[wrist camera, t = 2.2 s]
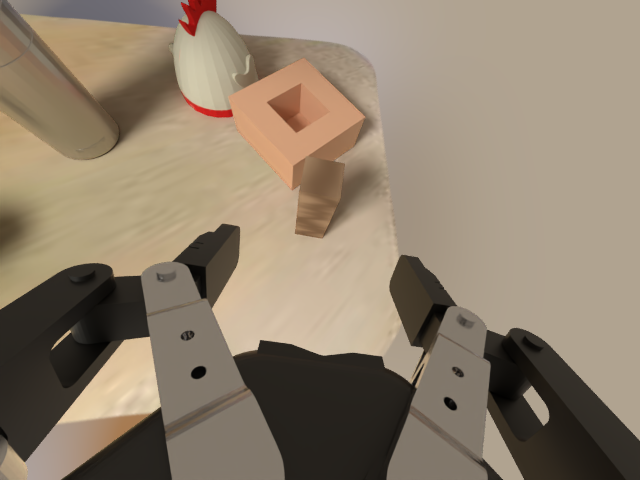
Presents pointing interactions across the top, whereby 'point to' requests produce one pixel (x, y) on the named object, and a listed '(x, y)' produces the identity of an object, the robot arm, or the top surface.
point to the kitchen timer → (210, 59)
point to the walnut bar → (318, 195)
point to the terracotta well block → (295, 119)
